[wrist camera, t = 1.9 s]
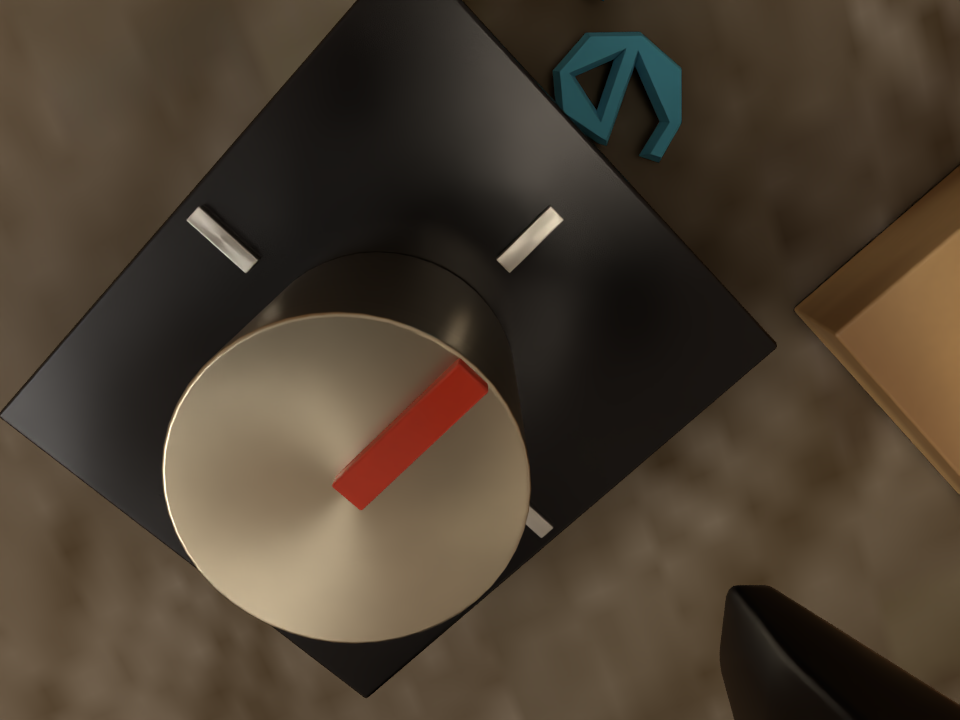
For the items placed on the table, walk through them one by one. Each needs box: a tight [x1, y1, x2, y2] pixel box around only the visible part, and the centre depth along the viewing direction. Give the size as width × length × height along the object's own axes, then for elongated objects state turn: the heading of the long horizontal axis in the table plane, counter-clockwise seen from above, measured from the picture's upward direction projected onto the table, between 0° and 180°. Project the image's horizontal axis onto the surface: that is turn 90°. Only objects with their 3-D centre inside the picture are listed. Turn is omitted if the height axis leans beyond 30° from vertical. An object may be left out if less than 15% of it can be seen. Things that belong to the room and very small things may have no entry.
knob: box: [162, 252, 531, 644], centre depth 13 cm, size 5×5×5 cm
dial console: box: [0, 0, 777, 698], centre depth 16 cm, size 12×10×3 cm
